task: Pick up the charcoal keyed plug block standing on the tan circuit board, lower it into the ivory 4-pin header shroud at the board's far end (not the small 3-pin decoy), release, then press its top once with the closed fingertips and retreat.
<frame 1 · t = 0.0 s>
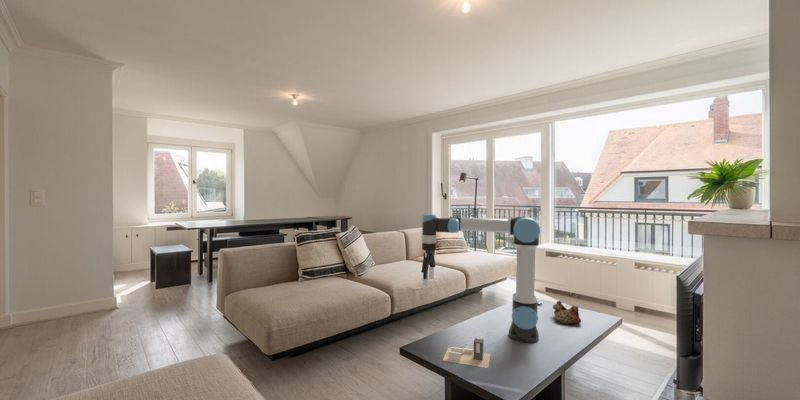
hand: (428, 281, 187), 28 cm above the table, fingers open, 13 cm apart
coral: (566, 321, 210), on the table
board: (467, 359, 159), on the table
plug: (478, 357, 158), point 1 cm above the table, touching board
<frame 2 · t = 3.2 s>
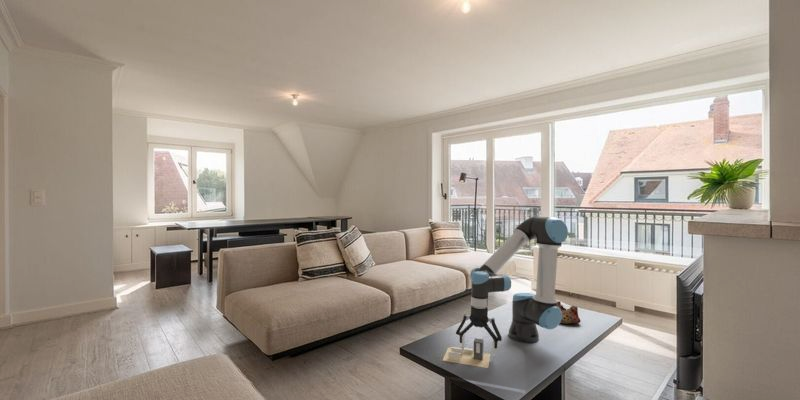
hand: (477, 352, 158), 3 cm above the table, fingers open, 13 cm apart
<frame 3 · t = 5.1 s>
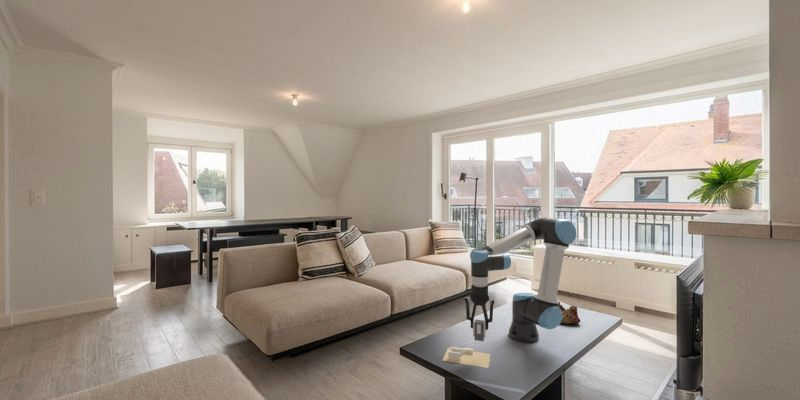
hand: (479, 335, 158), 11 cm above the table, fingers closed on plug, 4 cm apart
plug: (479, 339, 158), point 10 cm above the table, touching gripper
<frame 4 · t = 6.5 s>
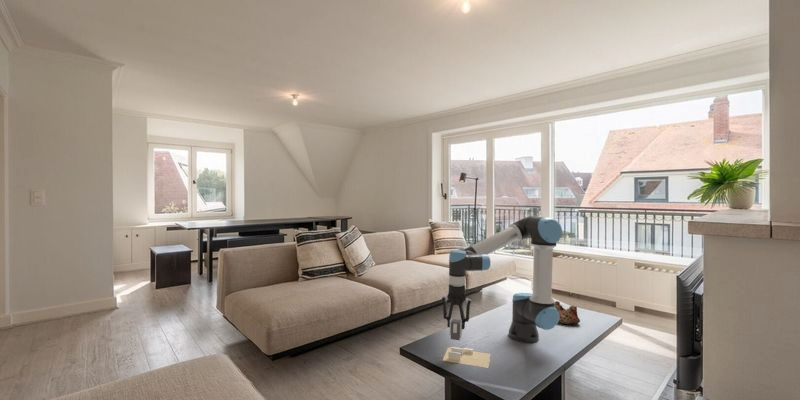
hand: (455, 334, 159), 11 cm above the table, fingers closed on plug, 4 cm apart
plug: (455, 338, 159), point 9 cm above the table, touching gripper
when the fingers open (2 cm above the table, at t = 8.3 s): plug stays where it is, resting on board.
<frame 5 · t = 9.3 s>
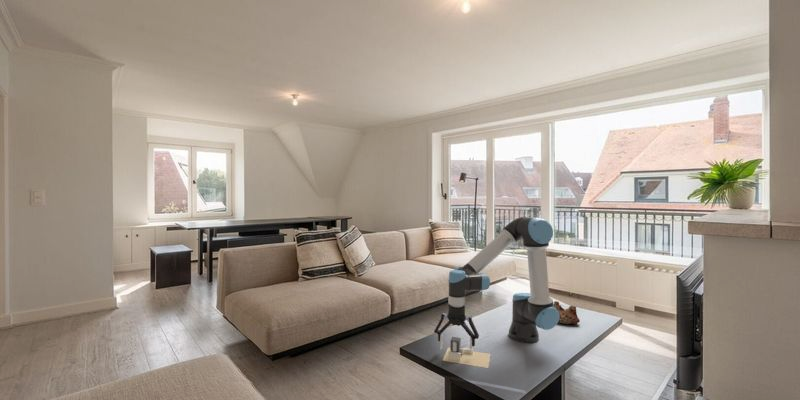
hand: (456, 350, 159), 4 cm above the table, fingers open, 13 cm apart
plug: (455, 356, 159), point 1 cm above the table, touching board
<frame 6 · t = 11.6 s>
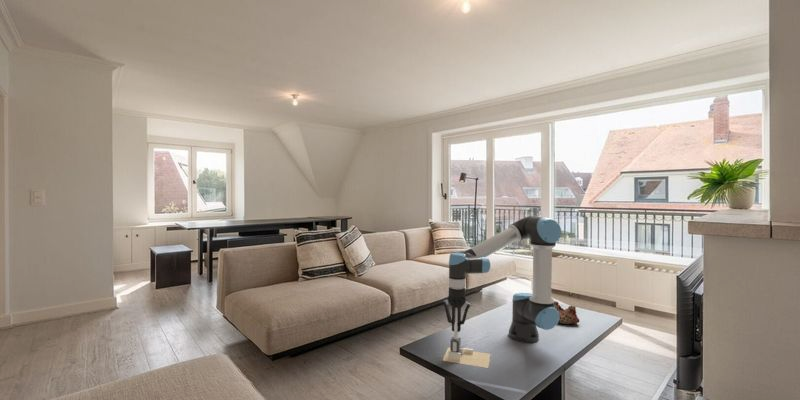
hand: (456, 338, 159), 9 cm above the table, fingers closed
plug: (455, 356, 159), point 1 cm above the table, touching board, gripper
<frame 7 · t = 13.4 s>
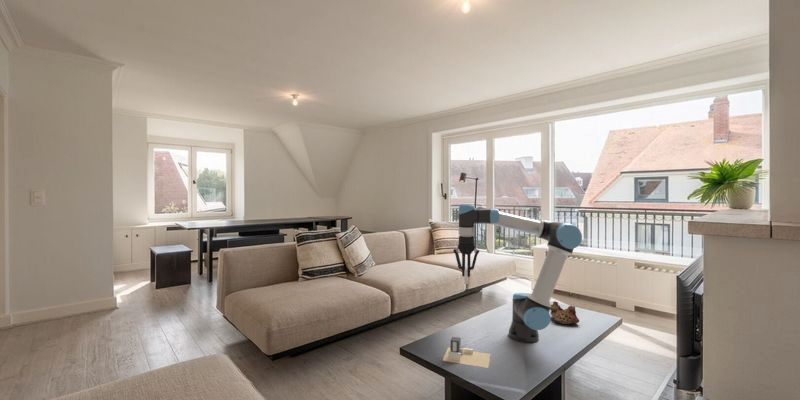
hand: (466, 283, 171), 32 cm above the table, fingers closed
plug: (455, 356, 159), point 1 cm above the table, touching board
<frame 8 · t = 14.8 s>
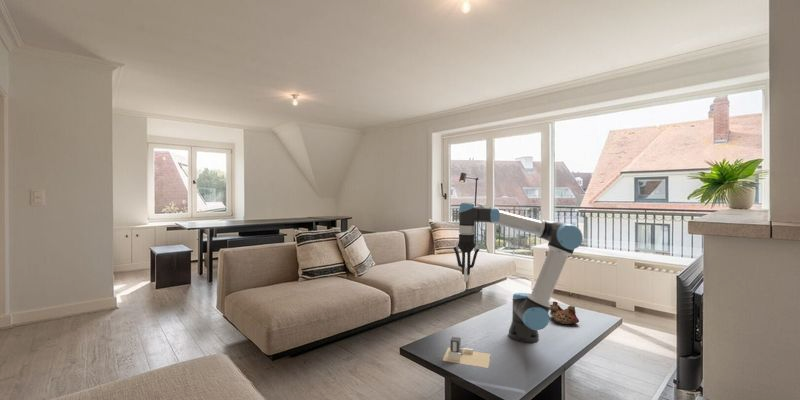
hand: (465, 281, 172), 32 cm above the table, fingers closed
at the end: plug 0.3 cm from the target spot on the board, point 1.1 cm above the board's base; plug tilted 0°; the gripper is holding nothing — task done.
